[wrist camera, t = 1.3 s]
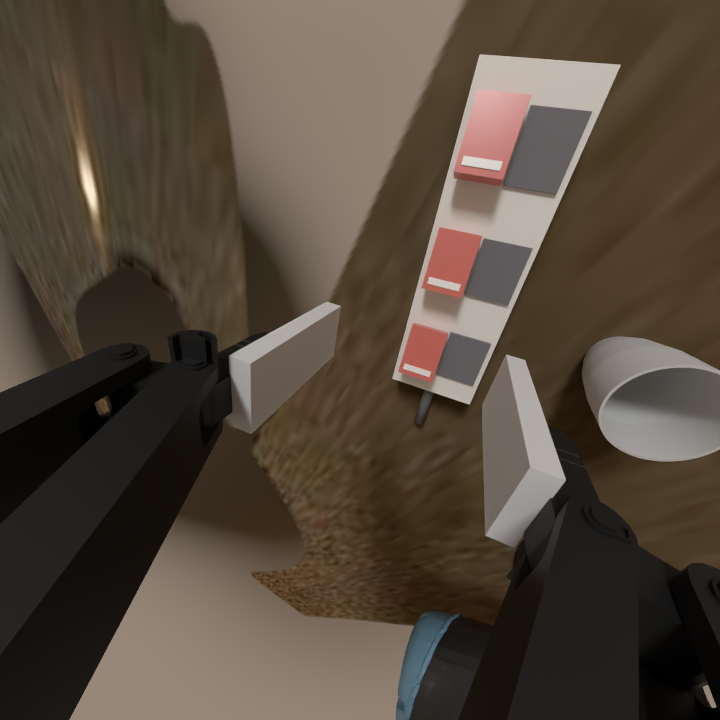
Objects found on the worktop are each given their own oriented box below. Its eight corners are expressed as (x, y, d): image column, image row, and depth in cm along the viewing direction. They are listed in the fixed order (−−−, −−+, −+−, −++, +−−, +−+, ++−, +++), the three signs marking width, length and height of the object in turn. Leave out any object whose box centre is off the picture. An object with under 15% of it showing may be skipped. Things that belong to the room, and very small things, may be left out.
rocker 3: (499, 186, 23) (502, 179, 21) (453, 178, 23) (453, 171, 22) (527, 106, 21) (532, 94, 20) (476, 101, 22) (478, 88, 21)
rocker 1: (432, 379, 31) (431, 382, 30) (400, 368, 32) (398, 371, 31) (448, 332, 30) (448, 334, 28) (414, 322, 31) (412, 324, 29)
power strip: (454, 424, 39) (451, 445, 35) (389, 401, 41) (381, 419, 37) (599, 88, 22) (622, 62, 19) (479, 77, 24) (479, 52, 21)
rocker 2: (460, 297, 27) (461, 298, 26) (422, 288, 28) (421, 287, 26) (481, 238, 25) (482, 236, 24) (440, 230, 26) (439, 226, 25)
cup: (598, 407, 32) (641, 476, 23) (547, 355, 31) (574, 405, 23) (688, 365, 28) (782, 429, 19) (632, 303, 27) (702, 341, 19)
